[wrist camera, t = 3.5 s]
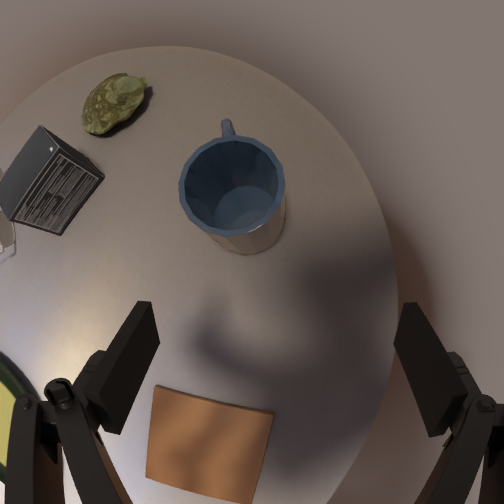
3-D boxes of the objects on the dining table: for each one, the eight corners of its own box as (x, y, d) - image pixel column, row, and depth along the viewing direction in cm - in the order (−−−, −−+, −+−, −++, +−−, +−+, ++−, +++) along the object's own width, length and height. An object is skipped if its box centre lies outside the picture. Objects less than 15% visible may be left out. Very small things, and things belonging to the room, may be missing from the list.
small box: (82, 152, 40) (39, 120, 29) (106, 176, 39) (61, 145, 28) (39, 210, 39) (-10, 191, 29) (60, 238, 38) (8, 222, 28)
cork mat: (274, 412, 33) (274, 415, 32) (251, 502, 32) (250, 505, 31) (156, 384, 35) (154, 386, 34) (147, 474, 33) (145, 477, 32)
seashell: (76, 92, 39) (93, 51, 32) (118, 89, 44) (142, 51, 37) (85, 149, 40) (103, 112, 32) (130, 142, 45) (157, 108, 37)
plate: (-50, 380, 38) (-58, 381, 36) (3, 316, 38) (-8, 317, 36) (18, 501, 34) (11, 506, 31) (95, 477, 34) (86, 484, 31)
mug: (289, 249, 35) (292, 227, 23) (215, 259, 36) (183, 243, 24) (274, 154, 37) (269, 98, 25) (205, 165, 37) (174, 115, 26)
